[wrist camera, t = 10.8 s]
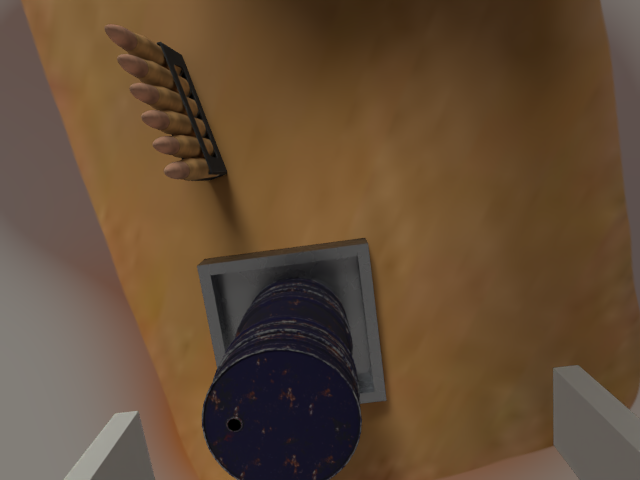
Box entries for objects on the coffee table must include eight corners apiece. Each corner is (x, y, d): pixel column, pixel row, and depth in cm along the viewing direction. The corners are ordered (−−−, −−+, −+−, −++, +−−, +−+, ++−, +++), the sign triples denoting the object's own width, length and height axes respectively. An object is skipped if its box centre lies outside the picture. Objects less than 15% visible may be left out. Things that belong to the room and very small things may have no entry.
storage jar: (347, 274, 39) (362, 343, 25) (351, 372, 41) (366, 491, 27) (240, 278, 40) (190, 350, 25) (248, 376, 41) (206, 497, 27)
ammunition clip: (227, 173, 38) (185, 180, 27) (208, 180, 39) (158, 191, 27) (181, 54, 37) (113, 4, 25) (161, 61, 37) (84, 16, 25)
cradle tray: (204, 259, 40) (197, 265, 37) (365, 237, 39) (368, 243, 37) (232, 404, 43) (227, 419, 40) (382, 386, 42) (386, 400, 40)
